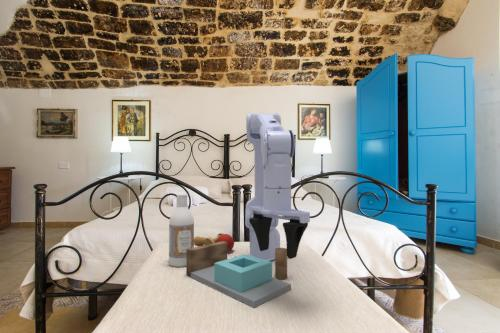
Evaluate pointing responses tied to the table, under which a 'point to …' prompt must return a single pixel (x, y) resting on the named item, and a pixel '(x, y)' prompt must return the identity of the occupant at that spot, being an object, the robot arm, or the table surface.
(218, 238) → the kendama
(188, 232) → the bath foam
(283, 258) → the walnut dowel
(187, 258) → the walnut wall
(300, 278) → the table surface
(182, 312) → the table surface
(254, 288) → the slate board
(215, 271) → the teal block
